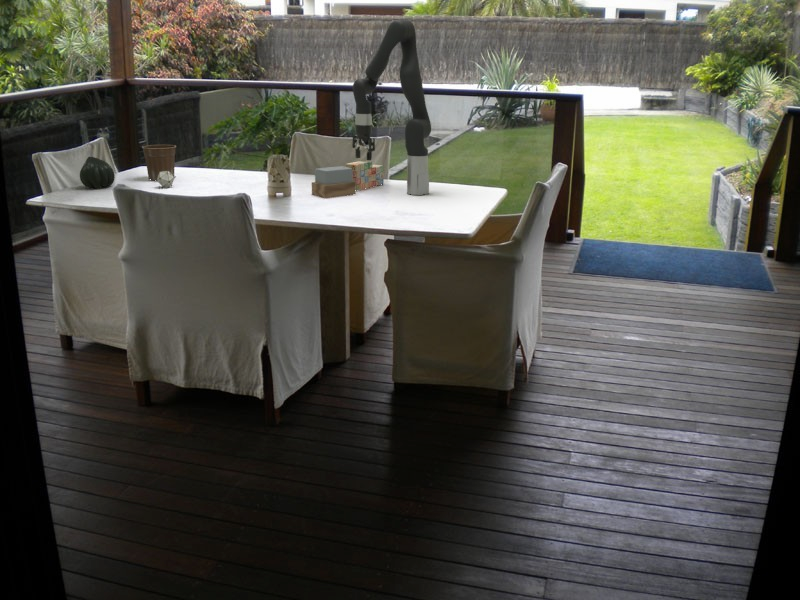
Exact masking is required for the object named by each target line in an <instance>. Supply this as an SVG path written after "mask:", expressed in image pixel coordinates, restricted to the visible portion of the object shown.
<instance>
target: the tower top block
mask: <svg viewBox="0 0 800 600" xmlns="http://www.w3.org/2000/svg"><path fill="white" fill-rule="evenodd" d="M314 182H316V183H320V184H323V185H331V184H340V183H349V182H353V169H352V168H348V167H346V166H344V165H340V166H330V167H320V168H314Z"/></svg>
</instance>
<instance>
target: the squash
mask: <svg viewBox="0 0 800 600" xmlns="http://www.w3.org/2000/svg"><path fill="white" fill-rule="evenodd" d="M115 175H116V174H115V172H114V169H113V168H112V166H111V165H110V164H109V163H108V162H106V161H105V160H103V159H100V158H97V157H94V156H88V157H87V158H86V159H85V161H84V164H83V165H82V167H81V169H80V171H79V180H80V182H81V183H82V184H83V186H85V187H86V188H88V187H89V189H91V188H94V189H97V190H98V188H99V189H101V188H103V187H104V188H107V187H109V188H110V186H112V185H113V184H114V182H115Z"/></svg>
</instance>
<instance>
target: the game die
mask: <svg viewBox="0 0 800 600" xmlns="http://www.w3.org/2000/svg"><path fill="white" fill-rule="evenodd" d="M158 171H159V170H158ZM176 177H177V176H175V175H174V176H173V175H172V174H171V173H170V172H169V170H168V171H162V172H160V171H159V175H158V178H157V180H156V181H155V182H157V183H159V185H160V186H161V188H162V189H164V188H165V187H172V186H173V183H174V180H175V178H176Z"/></svg>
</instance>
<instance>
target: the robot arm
mask: <svg viewBox="0 0 800 600" xmlns="http://www.w3.org/2000/svg"><path fill="white" fill-rule="evenodd" d="M416 35H417V34H416V28H415V25H414V23H413V22H412V21H411V20H409V19H395V20H393V21H391V22H390V24H389V25H388V27H387V29H386V31H385V34H384V37H383V39H382V41H381V43H380V45H379V47H378V49H377V51H376V53H375V54H374V56H373V58H372V59H371V61H370V62H369V64H368V65H367V66H366V68H365V75H366V76H365V78H357V79H355V80H354V82H353V85H352V94H353V98H354V102H355V120H354V121H355V123H354V124H355V125H354V126H355V128H354V129H355V132H354V133H355V134H353V135H352V142H351V143H352V145H351V147H352V149H354V150H355V158H356V159H360V158H361V148H362V147H364V149H365V150H366V161H372V157H373V155H372V154H373V153H372V152H375V151H376V141H375V137H371V135H372V132H373V130H372V129H373V128H372V127H373V122H372V121H373V118H372V102H371V100H368V99H367V95H370V94H372V93H373V92H374V91H375V89H376V88H377V85H378V82H379V79H380V77H381V76H382V75H383V73H384V71H385V70H386V68H387V66H388V64H389V61H390V56H391V53H392V52H393V50H394V49H395V47H396V46H397V45H398V44H399V43H400V47H401V54H402V57H401V63H400V67H399V81H400V86H401V91H402V93H403V95H404V97H405V100H406V101H407V102H408V104H409V106H410V108H411V109H410V110H411V112H412V113H411V115H412V119H409V120H408V121H407V122H406V124H405V128H404V129H405V130H404V141H405V142H404V144H405V149H406V152H407V153H406V154H407V160H406V162H407V163H406V170H407V171H406V194H407V193H408V194H407V195H410V194H411V195H413V196H423V194H425V195H429V194H430V172H429V150H428V148H427V147H426V146H425V140H424V139H426V138H428V137H429V136H430V135H431V132H432V123H431V120H430V116H429V112H428V109H427V104H426V100H425V99H426V98H425V94H424V93H425V92H424V89H423V88H424V87H423V81H422V75H421V70H420V63H419V58H418V49H417V36H416ZM428 193H429V194H428Z"/></svg>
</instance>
